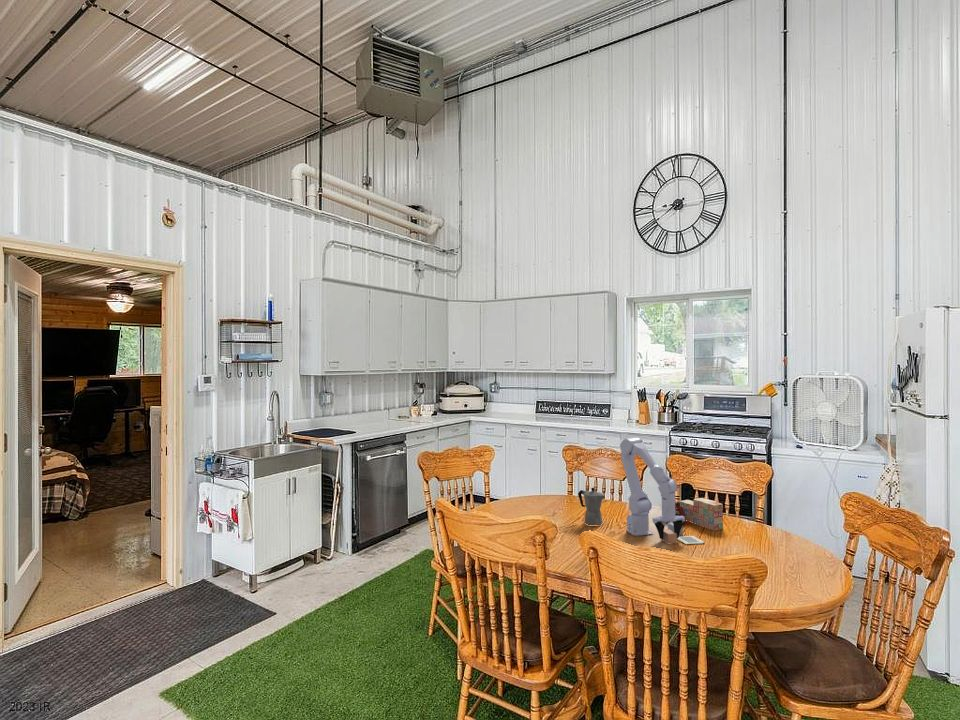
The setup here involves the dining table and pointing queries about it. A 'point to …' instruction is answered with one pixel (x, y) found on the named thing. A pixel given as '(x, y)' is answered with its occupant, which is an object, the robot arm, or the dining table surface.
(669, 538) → the terracotta brick
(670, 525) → the slate brick
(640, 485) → the robot arm
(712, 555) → the dining table surface
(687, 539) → the baseplate
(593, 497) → the coffeepot
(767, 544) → the dining table surface
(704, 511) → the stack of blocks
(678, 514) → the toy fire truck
